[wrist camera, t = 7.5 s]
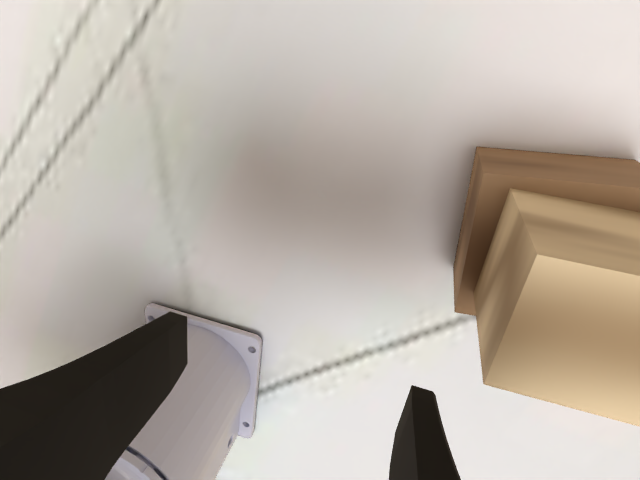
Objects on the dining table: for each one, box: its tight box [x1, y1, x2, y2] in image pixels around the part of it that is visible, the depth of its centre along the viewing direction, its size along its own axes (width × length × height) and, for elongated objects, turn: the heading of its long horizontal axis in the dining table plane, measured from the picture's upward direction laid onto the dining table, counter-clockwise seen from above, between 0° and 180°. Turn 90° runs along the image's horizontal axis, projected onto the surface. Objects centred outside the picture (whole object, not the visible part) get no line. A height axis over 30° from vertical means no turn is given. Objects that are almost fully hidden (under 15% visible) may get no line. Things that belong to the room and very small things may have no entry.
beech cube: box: [474, 188, 640, 426], centre depth 13 cm, size 4×4×5 cm
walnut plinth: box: [453, 147, 640, 316], centre depth 17 cm, size 6×6×4 cm
